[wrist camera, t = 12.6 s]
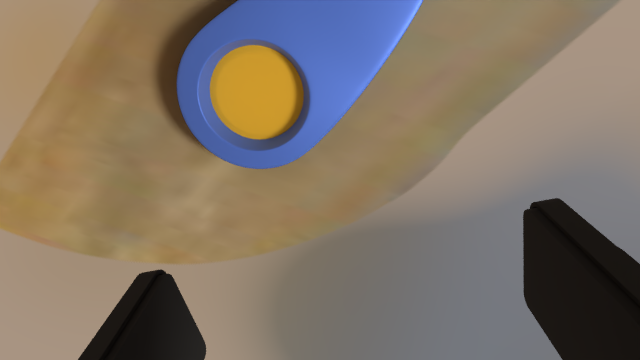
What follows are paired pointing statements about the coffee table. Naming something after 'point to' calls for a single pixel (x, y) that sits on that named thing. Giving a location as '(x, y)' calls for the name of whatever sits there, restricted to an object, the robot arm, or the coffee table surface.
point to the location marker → (283, 73)
